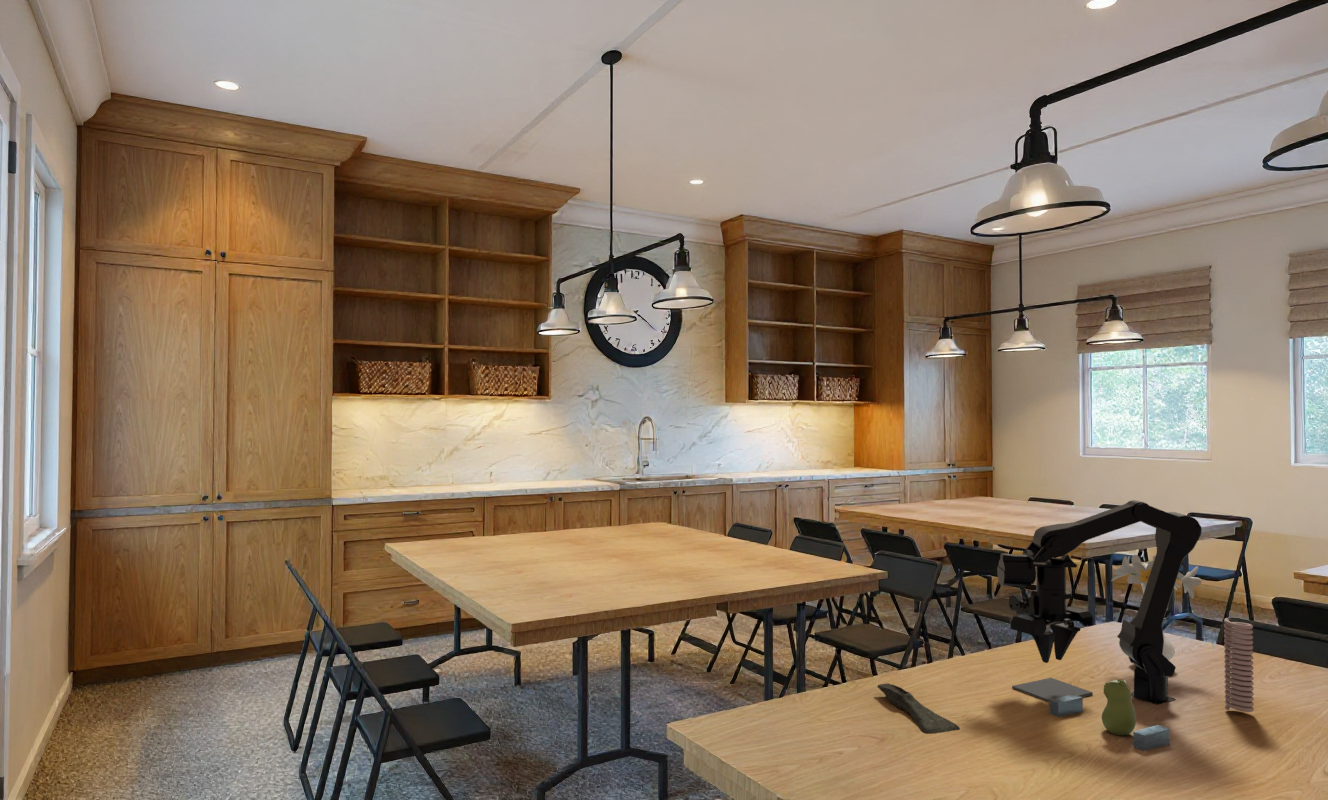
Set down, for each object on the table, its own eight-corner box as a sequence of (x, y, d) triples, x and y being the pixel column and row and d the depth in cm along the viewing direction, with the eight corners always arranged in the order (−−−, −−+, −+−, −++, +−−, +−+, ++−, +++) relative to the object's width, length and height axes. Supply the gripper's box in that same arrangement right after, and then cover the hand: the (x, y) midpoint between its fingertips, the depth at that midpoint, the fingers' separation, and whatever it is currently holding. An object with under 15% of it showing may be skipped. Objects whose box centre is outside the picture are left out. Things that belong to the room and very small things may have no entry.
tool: (962, 737, 145) (963, 720, 145) (927, 742, 143) (927, 726, 142) (895, 689, 165) (896, 675, 165) (863, 693, 162) (864, 679, 162)
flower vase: (1211, 671, 179) (1210, 561, 180) (1130, 671, 180) (1129, 561, 180) (1175, 653, 192) (1174, 551, 193) (1099, 653, 193) (1098, 551, 193)
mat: (1050, 680, 174) (1050, 677, 174) (1092, 695, 165) (1092, 692, 165) (1012, 688, 169) (1012, 685, 169) (1053, 704, 160) (1053, 701, 160)
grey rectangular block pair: (1073, 709, 157) (1073, 693, 157) (1169, 745, 140) (1169, 728, 140) (1049, 715, 154) (1049, 699, 154) (1144, 753, 137) (1144, 735, 137)
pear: (1123, 742, 141) (1122, 686, 141) (1095, 731, 146) (1094, 677, 146) (1142, 736, 144) (1141, 681, 144) (1114, 726, 148) (1113, 673, 149)
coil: (1250, 709, 157) (1249, 618, 157) (1256, 717, 153) (1255, 624, 153) (1222, 705, 159) (1221, 616, 159) (1227, 713, 154) (1226, 621, 155)
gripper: (1048, 576, 178) (1049, 645, 178) (988, 584, 170) (989, 656, 170) (1094, 585, 168) (1094, 659, 168) (1032, 594, 160) (1033, 671, 160)
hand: (1052, 661), depth 167 cm, fingers open, 4 cm apart
